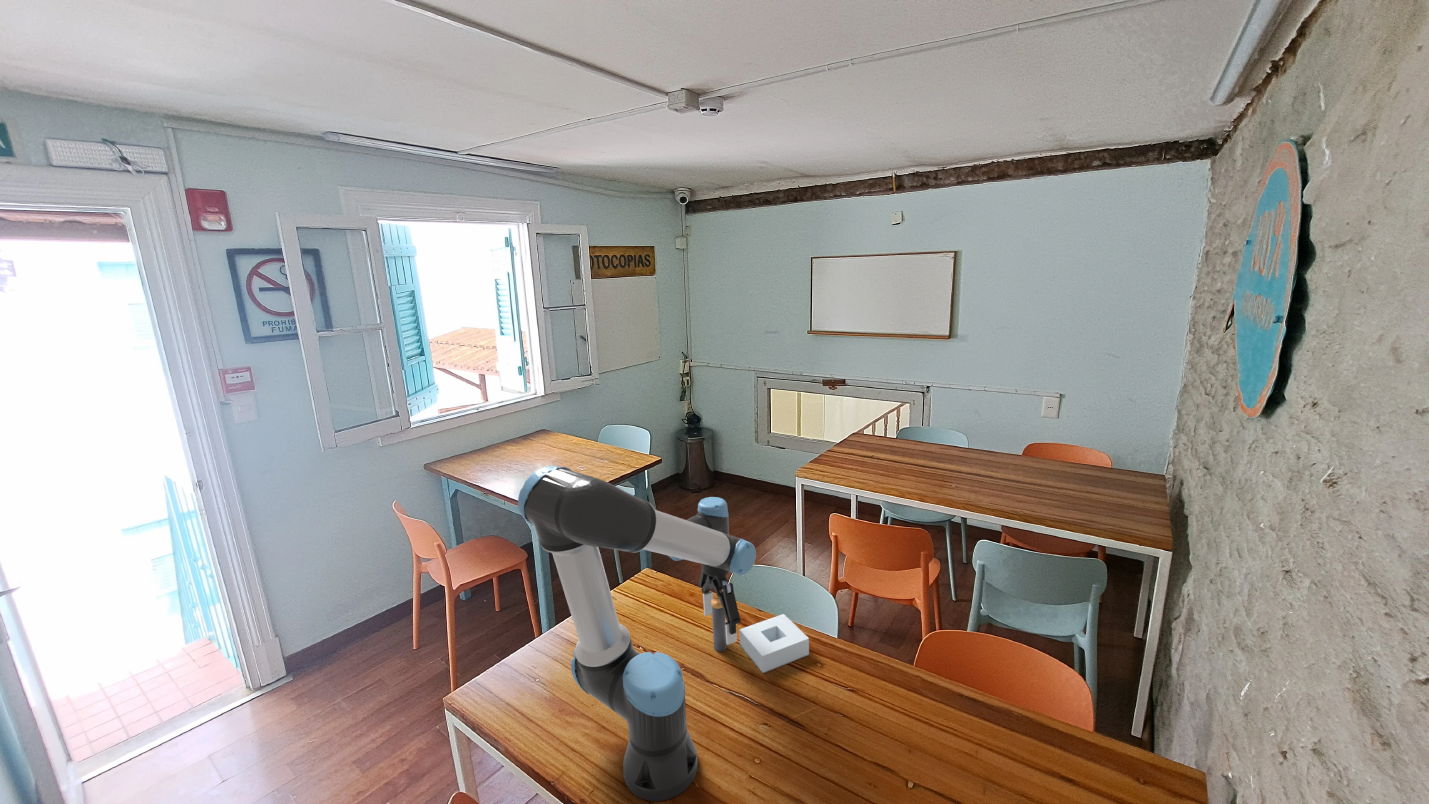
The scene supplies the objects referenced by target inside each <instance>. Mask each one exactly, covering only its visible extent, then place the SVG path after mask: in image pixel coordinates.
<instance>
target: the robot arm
mask: <svg viewBox="0 0 1429 804" xmlns="http://www.w3.org/2000/svg"><path fill="white" fill-rule="evenodd" d="M518 493H519V494H518V499H517V507H518V511H519V514H520V516H521V517H523V519H524V520H525V521H526V522H527V523H529V524H533V526H534V528H535V532H536V534H537V538H538V541H539V544H540V546H541V548H542V549H543V550H544V551H545V552H548V553H550V554H552V556H553V560H554V563H555V566H556V570H557V573H558V577H559V580H560V583H561V585H562V589H563V592H564V596H565V600H566V602H567V605H568V606H567V607H568V609H569V612H570V615H571V619H572V621H573V625H574V628H575V632H576V634H577V638H578V641H577V642H576V645H575V649H574V651H573V653H572V654H573V656H574V657H572V658H571V661H570V662H571V663H570V672H571V675H572V678H573V680H574V681H575V683H576V684H577V685H578V686H579V688H580V689H581V690H582V691H583V692H584V693H586V694H588V695H591V696H592V697H593V698H595V700H597V701H599V702H600V703H601V704H602V705H604V706H606V707H607V708H609V709H610V710H612V711H613V712H615V713H616V714H617V715H618V716H620V717H621V718H623V719H624V720H625V721H626V723H627V729H628V730H627V731H628V738H629V739H628V742H627V747H626V749H625V752H624V753H625V754H624V757H623V762H622V763H623V764H622V769H623V779H624V782H625V785H626V786H627V789H628V790H629V791H630V792H631V793H632V794H634V795H635V796H636V797H638V798H639V799H641V800H645V801H649V802H662V801H667V800H671V799H673V798H676V797H677V796H679V795H681V794H682V793H684V792H685V791H686V790H687V788H689V787H690V785H691V784H692V783H693V782H694V779H695V777H696V775H697V772H698V762H699V761H698V753H697V748H696V745H695V743H694V742H693V739H692V737H691V735H690V733H689V731H688V727H687V712H686V711H687V709H686V708H687V707H686V706H687V705H686V686H685V681H684V676H683V671H682V669H681V667H680V665H679V663H678V662H677V661H676V660H675V659H674V657H673V658H672V657H671V656H670V655H668V654H666V653H662V652H659V651H656V652H654V653H652V651H647V652H642V653H640V652H639V651H638V650H636V649H635V648H634V645H633V641H632V638H631V635H630V631H629V629H627V627H626V626H625V625H623V624H621V623H619V618H618V614H617V610H616V607H615V604H614V600H613V596H612V592H611V589H610V586H609V585H610V584H609V580H608V578H607V574H606V571H605V567H604V564H603V563H604V562H603V560H602V555H601V553H600V552H601V551H600V548H602V549H603V548H604V549H610V550H616V551H621V552H626V553H633V554H634V553H639V552H641V551H643V550H644V551H649V552H653V553H657V554H661V555H665V556H668V557H669V558H670V559H671V560H673V561H677V562H679V561H682V560H686V561H690V562H694V563H698V564H701V571H700V576H699V581H698V587H699V589H700V588H701V593H702V601H703V602H702V603H703V616H704V617H707V616H710V615H711V616H712V605H711V601H712V599H714V592H715V595H716V598H717V597H719V598H720V601H721V604H722V607H723V610H724V614H725V627H726V646H729V645H732V644H734V643H737V642H738V635H737V634H738V633H737V632H738V631H737V625H738V624H740V623H741V615H740V613H739V609H738V603H737V600H736V596H735V593H734V592H735V591H734V583H733V582H729V581H728V578H727V575H728V574H729V573H731V574H736V575H739V576H745V575H747V574H748V573H749V572H750V571H751V570H752V569H753V567H754V564H755V561H756V557H757V551H756V547H755V545H754V544H753V543H752V542H750V541H747V540H745V538H744V539H743V538H740V537H736V536H734V535H731V534H730V530H729V528H730V527H729V525H730V524H729V517H730V514H729V511H728V510H729V509H728V503H727V501H726V500H725V499H723V498H722V497H717V496H716V497H715V496H709V497H704V498H702V499H700V501H699V502H698V504H697V513H696V514H694V515H693V516H691V517H689V518H688V519H684V518H680V517H679V516H674V515H671V514H669V513H666V512H662V511H660V510H657V509H656V508H655V507H654V506H653V504H651V502H649V501H647V500H645V499H642V498H640V497H638V496H635V495H633V494H631V493H630V492H627V491H625V490H623V489H621V488H619V487H618V486H616V485H614V484H612V483H609V482H608V481H606V480H603V479H601V478H598V477H594V476H590V475H587V474H584V473H581V472H577V471H574V470H572V469H571V468H569V467H566V466H557V465H546V466H543V467H541V468H539V469H536V470H535V471H534V472H533V473H531V474H530V475H529V476H528V478H527V479H526V480H525V481H524V483H523V486H522V488H521V489H520V490H519V492H518ZM713 591H714V592H713Z"/></svg>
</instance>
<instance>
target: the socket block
mask: <svg viewBox="0 0 1429 804" xmlns="http://www.w3.org/2000/svg"><path fill="white" fill-rule="evenodd" d="M739 647H740V648H741V649H742V650H743V651H744V652H745V654H746V655H747V656H748V658H750V660H751V661H752V662H753V663H754V664H755V666H756V667H757V668H758V669H759V671H760V672H761V673H762V674H765V673H767V672H770V671H772V670H775V669H778V668H780V667H782V666H785V665H788V664H790V663H793V662H795V661H797V660H800V659H803V658H804V657H805V658H806V657H808V656H810V638H809V637H808V636H807V635H806V634H805V633H804V632H803V631H802V630H801V629H800V628H799V627H798V626H797V625H796V624H795V623H794V622H793V621H792V620H791V619H790V618H789V617H787V615H786V614H784V613H782V614H779V615H777V616H774V617H771V618H768V619H765V620H761V621H760V622H757V623H753V624H751V625H748V626H745V627H743V628H739Z"/></svg>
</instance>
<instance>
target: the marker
mask: <svg viewBox="0 0 1429 804" xmlns="http://www.w3.org/2000/svg"><path fill="white" fill-rule="evenodd" d="M711 605H712V614H711V618H712V621H711V622H712V637H713V638H712V639H713V649H714V651H715V652H720V653H721V652H724V651H725V650H727V643H726V627H725V621H726V617H725V614H724V610H723V607H722V604H721V601H720V598H719V597H717V596H716V597H713V599H712V601H711Z"/></svg>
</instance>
